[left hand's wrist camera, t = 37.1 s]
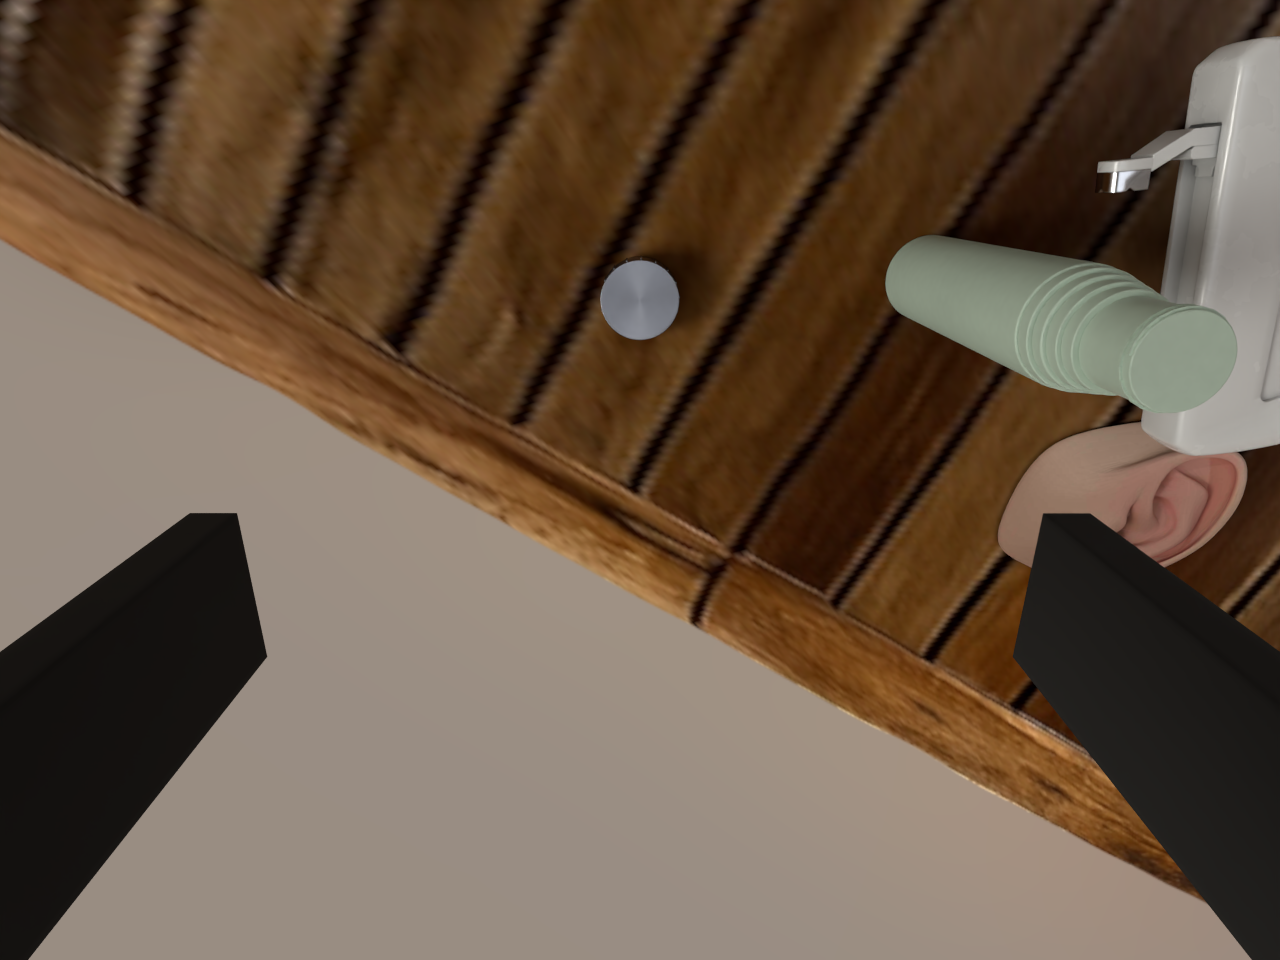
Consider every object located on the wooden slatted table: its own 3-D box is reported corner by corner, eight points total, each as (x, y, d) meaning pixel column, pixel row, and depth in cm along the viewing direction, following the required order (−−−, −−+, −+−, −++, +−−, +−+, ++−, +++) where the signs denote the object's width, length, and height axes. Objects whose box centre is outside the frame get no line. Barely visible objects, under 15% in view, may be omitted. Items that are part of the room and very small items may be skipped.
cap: (601, 254, 45) (600, 257, 43) (680, 256, 45) (682, 260, 43) (600, 332, 47) (599, 339, 45) (676, 334, 47) (678, 341, 45)
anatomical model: (1014, 607, 49) (1049, 439, 45) (988, 577, 53) (1017, 420, 49) (1218, 607, 49) (1272, 439, 45) (1178, 577, 53) (1224, 419, 49)
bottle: (982, 247, 45) (1296, 307, 24) (948, 328, 47) (1212, 453, 25) (904, 224, 45) (1152, 263, 23) (872, 307, 46) (1076, 415, 25)
